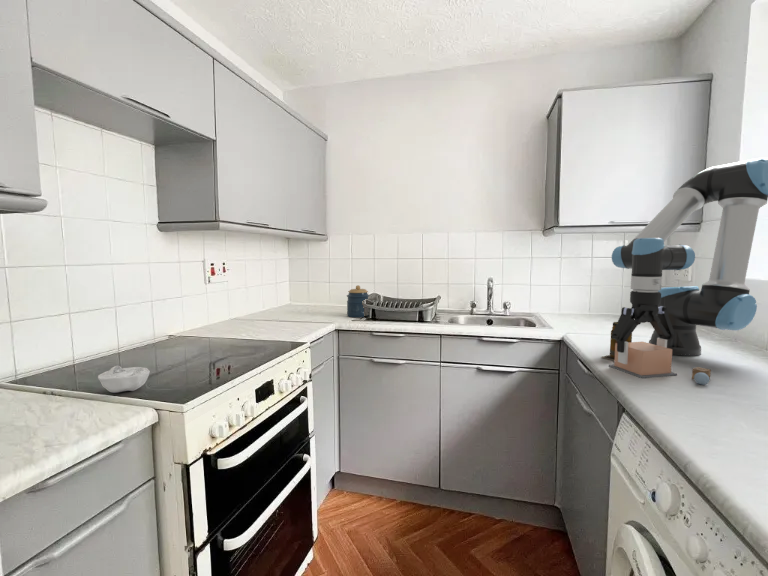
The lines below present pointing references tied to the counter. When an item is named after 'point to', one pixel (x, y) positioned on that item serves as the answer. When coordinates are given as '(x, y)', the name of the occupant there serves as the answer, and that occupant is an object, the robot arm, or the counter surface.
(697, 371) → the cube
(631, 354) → the salmon tan box
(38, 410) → the counter surface
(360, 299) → the canister
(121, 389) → the cell model
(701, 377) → the ball
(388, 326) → the counter surface
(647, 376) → the mat
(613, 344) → the condiment
